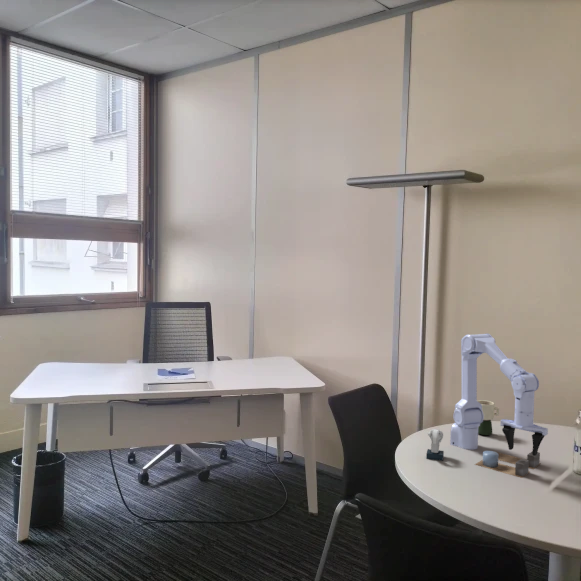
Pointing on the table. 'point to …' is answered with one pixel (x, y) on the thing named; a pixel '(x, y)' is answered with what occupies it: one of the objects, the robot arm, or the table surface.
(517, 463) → the strip
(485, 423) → the character mug
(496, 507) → the table surface
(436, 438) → the white figurine on base
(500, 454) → the strip empty
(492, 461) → the blue-grey rounded block
